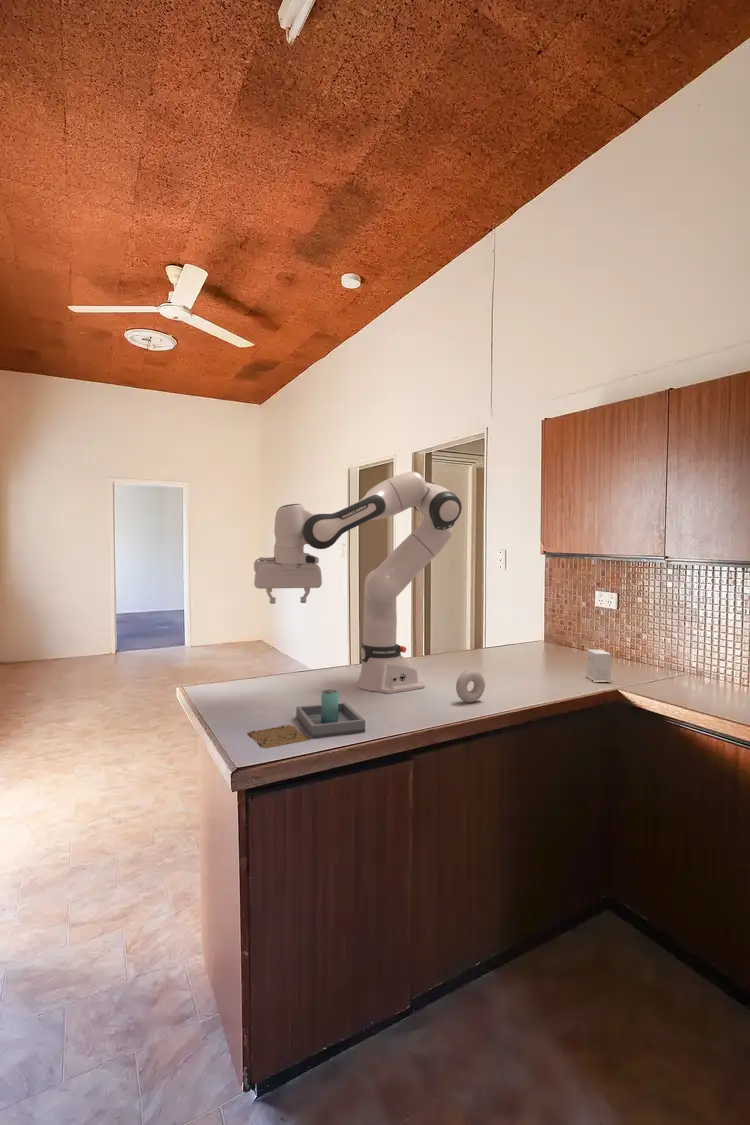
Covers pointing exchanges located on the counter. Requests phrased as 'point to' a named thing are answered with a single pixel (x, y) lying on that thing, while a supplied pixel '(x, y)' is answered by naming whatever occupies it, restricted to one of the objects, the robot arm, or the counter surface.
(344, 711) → the tray
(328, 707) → the cup
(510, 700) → the counter surface
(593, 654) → the small box
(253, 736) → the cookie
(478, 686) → the donut
